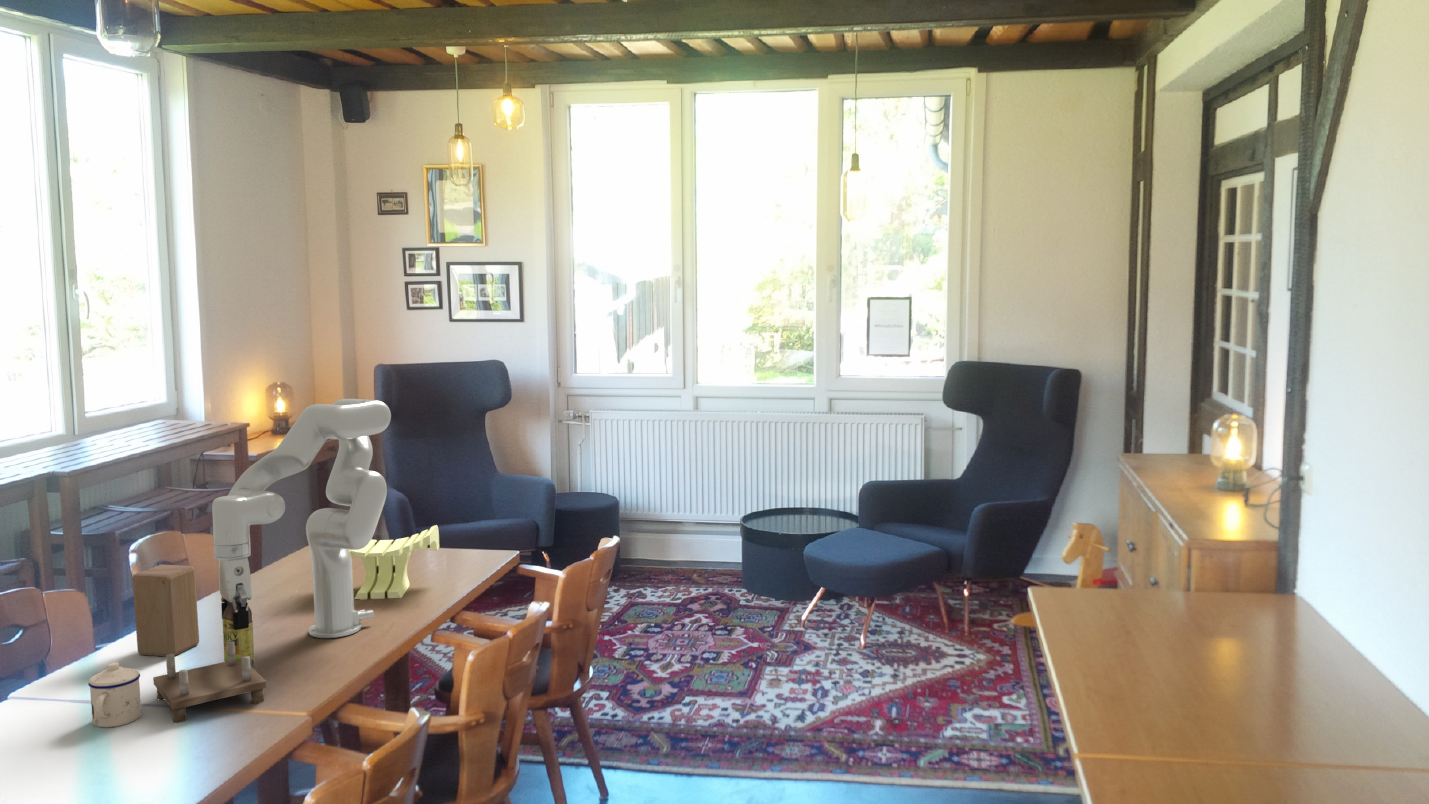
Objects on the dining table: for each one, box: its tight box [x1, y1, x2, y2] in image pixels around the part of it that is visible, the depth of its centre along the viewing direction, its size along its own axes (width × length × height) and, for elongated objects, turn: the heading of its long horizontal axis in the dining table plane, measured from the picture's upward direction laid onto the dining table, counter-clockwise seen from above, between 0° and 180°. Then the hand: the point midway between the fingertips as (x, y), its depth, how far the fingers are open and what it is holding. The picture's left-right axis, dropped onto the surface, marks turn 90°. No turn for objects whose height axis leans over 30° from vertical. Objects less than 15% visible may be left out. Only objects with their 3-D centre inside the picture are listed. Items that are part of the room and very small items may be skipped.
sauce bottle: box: [222, 590, 255, 668], centre depth 238 cm, size 6×6×20 cm
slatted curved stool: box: [348, 524, 440, 601], centre depth 299 cm, size 30×16×18 cm, turn 96°
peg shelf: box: [152, 642, 267, 723], centre depth 220 cm, size 18×18×10 cm
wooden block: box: [132, 564, 200, 657], centre depth 250 cm, size 10×10×20 cm
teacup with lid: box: [87, 662, 142, 728], centre depth 209 cm, size 12×9×12 cm
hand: (235, 623), depth 238 cm, fingers open, 9 cm apart
